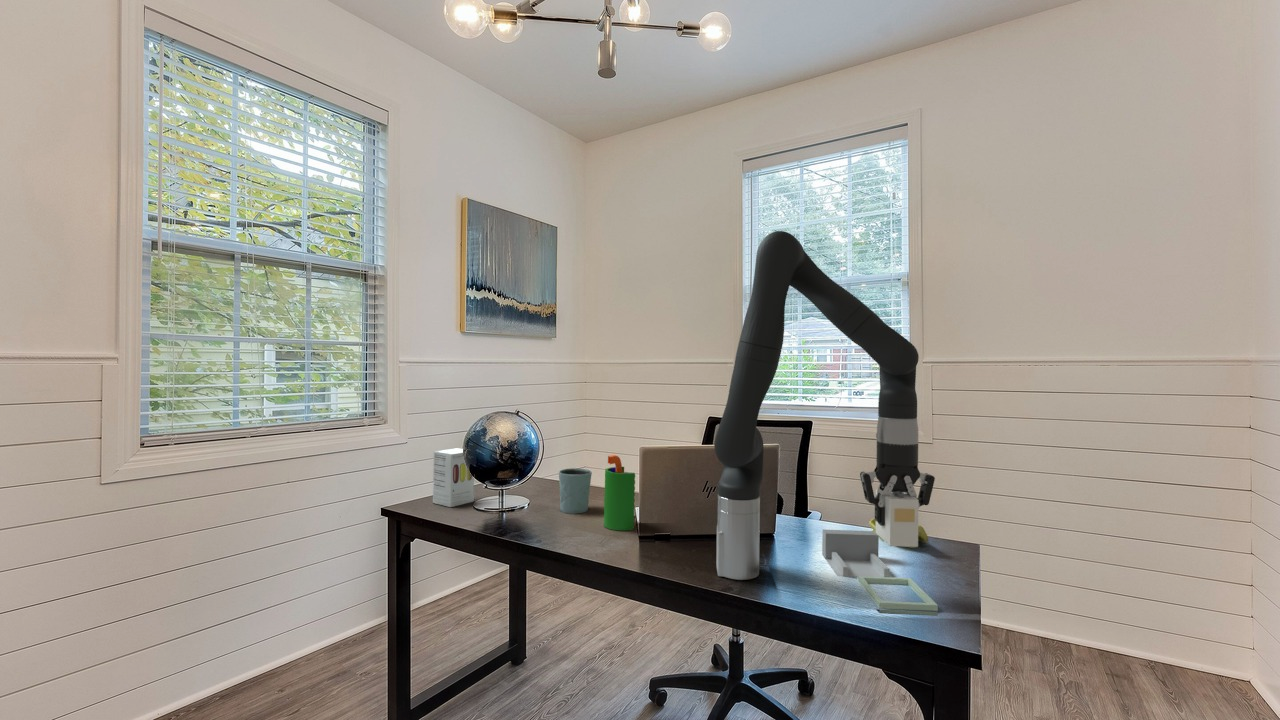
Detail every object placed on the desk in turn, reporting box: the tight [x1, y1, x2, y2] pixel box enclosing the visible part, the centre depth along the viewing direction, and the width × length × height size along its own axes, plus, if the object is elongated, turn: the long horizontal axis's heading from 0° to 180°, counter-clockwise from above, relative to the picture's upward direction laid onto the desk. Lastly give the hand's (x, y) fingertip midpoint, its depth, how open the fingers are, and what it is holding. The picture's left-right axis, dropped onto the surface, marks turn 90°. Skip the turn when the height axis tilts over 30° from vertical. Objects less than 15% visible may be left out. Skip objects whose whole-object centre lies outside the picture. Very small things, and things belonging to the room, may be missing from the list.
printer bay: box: [821, 529, 895, 578], centre depth 125 cm, size 12×13×7 cm
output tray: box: [857, 576, 939, 617], centre depth 110 cm, size 11×13×2 cm
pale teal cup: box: [558, 467, 593, 515], centre depth 172 cm, size 10×10×12 cm
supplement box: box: [432, 447, 475, 508], centre depth 179 cm, size 10×9×17 cm
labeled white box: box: [875, 488, 919, 548], centre depth 110 cm, size 5×8×10 cm, turn 176°
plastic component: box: [868, 517, 930, 549], centre depth 145 cm, size 20×7×10 cm
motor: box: [603, 454, 636, 532], centre depth 156 cm, size 10×9×20 cm
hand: (896, 524), depth 110 cm, fingers closed on labeled white box, 5 cm apart
